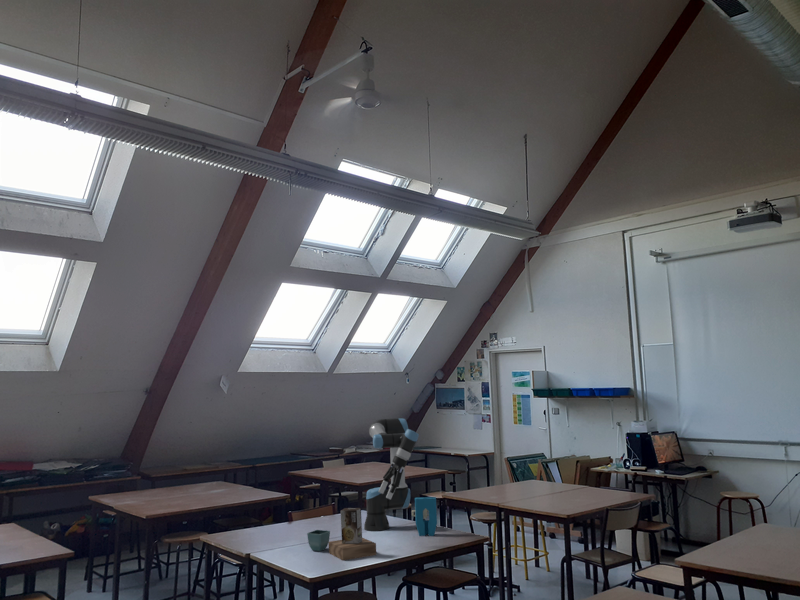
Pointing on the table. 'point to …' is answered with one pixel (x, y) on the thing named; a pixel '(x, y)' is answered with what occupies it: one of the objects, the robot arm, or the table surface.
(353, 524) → the coffee box
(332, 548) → the walnut block
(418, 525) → the block
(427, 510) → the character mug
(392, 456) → the robot arm
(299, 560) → the table surface
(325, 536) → the flower pot
